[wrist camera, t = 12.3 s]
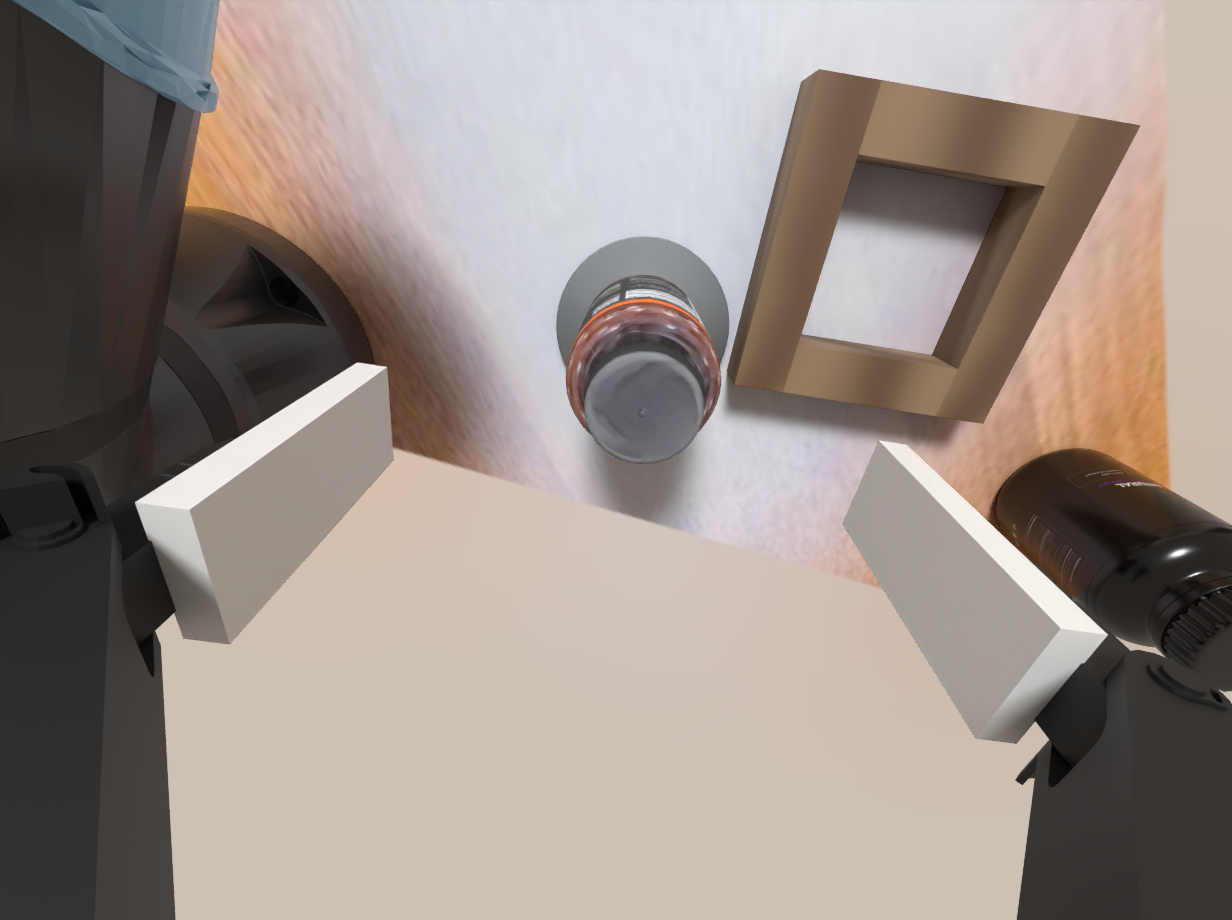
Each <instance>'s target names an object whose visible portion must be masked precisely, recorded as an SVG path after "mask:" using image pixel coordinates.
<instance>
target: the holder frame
mask: <svg viewBox="0 0 1232 920" xmlns="http://www.w3.org/2000/svg"><path fill="white" fill-rule="evenodd" d="M1139 127H1140V125H1135V124H1129V123H1123V122H1118V121H1112V120H1106V119H1100V118H1095V117H1089V116H1083V115H1078V114H1072V113H1066V112H1060V111H1055V110H1049V109H1043V108H1038V107H1032V106H1026V105H1020V104H1015V103H1009V102H1003V101H998V100H992V99H986V98H980V97H975V96H969V95H963V94H958V93H952V92H946V91H940V90H935V89H929V88H923V87H918V86H912V85H906V84H900V83H895V82H889V81H883V80H878V79H872V78H866V77H860V76H855V75H849V74H843V73H838V72H832V71H826V70H820V69H819V70H817V71H816V72H815V73H813V74H812V75H810V76H809V77H807V78H806V79H805V80H803V81H802V82H801V85H800V89H799V93H798V97H797V101H796V105H795V108H794V112H793V116H792V120H791V124H790V128H789V132H788V136H787V140H786V143H785V147H784V151H783V155H782V159H781V163H780V167H779V171H778V174H777V178H776V182H775V186H774V190H773V194H772V198H771V202H770V205H769V209H768V213H767V217H766V221H765V225H764V229H763V233H762V236H761V240H760V244H759V248H758V252H757V256H756V260H755V264H754V267H753V271H752V275H751V279H750V283H749V287H748V291H747V295H746V298H745V302H744V306H743V310H742V314H741V318H740V322H739V326H738V330H737V333H736V337H735V341H734V345H733V349H732V353H731V357H730V361H729V364H728V368H727V370H728V372H729V375H730V377H731V379H732V381H733V383H734V385H739V386H745V387H752V388H758V389H765V390H771V391H777V392H784V393H790V394H797V395H803V396H809V397H816V398H822V399H828V400H835V401H841V402H848V403H854V404H860V405H867V406H873V407H880V408H886V409H892V410H899V411H905V412H912V413H918V414H924V415H931V416H937V417H943V418H950V419H956V420H963V421H969V422H975V423H982V424H983V423H984V421H985V419H986V417H987V415H988V413H989V411H990V409H991V407H992V406H993V404H994V402H995V400H996V398H997V396H998V394H999V392H1000V390H1001V389H1002V387H1003V385H1004V383H1005V381H1006V379H1007V377H1008V375H1009V373H1010V371H1011V370H1012V368H1013V366H1014V364H1015V362H1016V360H1017V358H1018V356H1019V354H1020V353H1021V351H1022V349H1023V347H1024V345H1025V343H1026V341H1027V339H1028V337H1029V336H1030V334H1031V332H1032V330H1033V328H1034V326H1035V324H1036V322H1037V320H1038V319H1039V317H1040V315H1041V313H1042V311H1043V309H1044V307H1045V305H1046V303H1047V302H1048V300H1049V298H1050V296H1051V294H1052V292H1053V290H1054V288H1055V286H1056V284H1057V283H1058V281H1059V279H1060V277H1061V275H1062V273H1063V271H1064V269H1065V267H1066V266H1067V264H1068V262H1069V260H1070V258H1071V256H1072V254H1073V252H1074V250H1075V249H1076V247H1077V245H1078V243H1079V241H1080V239H1081V237H1082V235H1083V233H1084V232H1085V230H1086V228H1087V226H1088V224H1089V222H1090V220H1091V218H1092V216H1093V214H1094V213H1095V211H1096V209H1097V207H1098V205H1099V203H1100V201H1101V199H1102V197H1103V196H1104V194H1105V192H1106V190H1107V188H1108V186H1109V184H1110V182H1111V180H1112V179H1113V177H1114V175H1115V173H1116V171H1117V169H1118V167H1119V165H1120V163H1121V162H1122V160H1123V158H1124V156H1125V154H1126V152H1127V150H1128V148H1129V146H1130V144H1131V143H1132V141H1133V139H1134V137H1135V135H1136V133H1137V131H1138V129H1139ZM856 161H859V162H865V163H871V164H876V165H882V166H888V167H894V168H900V169H906V170H912V171H918V172H923V173H929V174H935V175H941V176H947V177H953V178H959V179H965V180H970V181H976V182H982V183H988V184H994V185H1000V186H1006V187H1007V189H1006V191H1005V194H1004V196H1003V198H1002V200H1001V203H1000V205H999V207H998V209H997V211H996V214H995V216H994V218H993V220H992V223H991V225H990V227H989V229H988V232H987V234H986V236H985V238H984V241H983V243H982V245H981V247H980V250H979V252H978V254H977V256H976V258H975V261H974V263H973V265H972V267H971V270H970V272H969V274H968V276H967V279H966V281H965V283H964V285H963V288H962V290H961V292H960V294H959V296H958V299H957V301H956V303H955V305H954V308H953V310H952V312H951V314H950V317H949V319H948V321H947V323H946V326H945V328H944V330H943V332H942V335H941V337H940V339H939V341H938V343H937V346H936V348H935V350H934V352H933V355H927V354H921V353H915V352H909V351H902V350H896V349H890V348H884V347H877V346H871V345H865V344H859V343H852V342H846V341H840V340H834V339H827V338H821V337H815V336H809V335H802V334H801V333H802V330H803V327H804V324H805V321H806V318H807V314H808V311H809V308H810V305H811V302H812V299H813V296H814V292H815V289H816V286H817V283H818V280H819V277H820V274H821V270H822V267H823V264H824V261H825V258H826V255H827V252H828V248H829V245H830V242H831V239H832V236H833V233H834V230H835V226H836V223H837V220H838V217H839V214H840V211H841V207H842V204H843V201H844V198H845V195H846V192H847V189H848V185H849V182H850V179H851V176H852V173H853V170H854V167H855V163H856Z"/></svg>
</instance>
